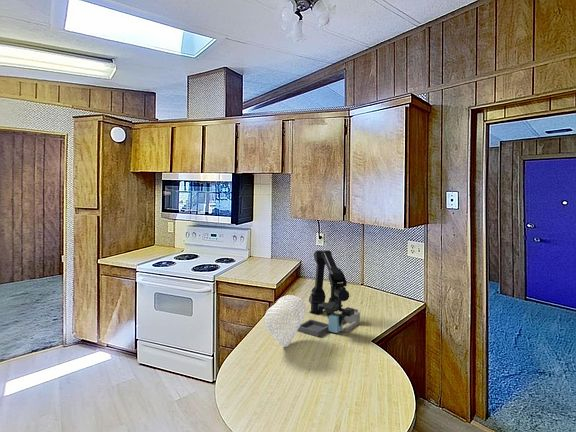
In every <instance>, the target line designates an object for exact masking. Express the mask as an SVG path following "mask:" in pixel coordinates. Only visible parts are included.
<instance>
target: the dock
mask: <svg viewBox="0 0 576 432" xmlns="http://www.w3.org/2000/svg"><path fill="white" fill-rule="evenodd" d="M353 309H354V314H353V315H351V316H345V318H344V320H343V323H347V324H348V325H346V326H344V327H343V328H342V331H343V332H344V333H347V332H348V331H349V330H351V329H353V328H354V327H356V326H357V325H359V324H360V321H361V312H359V309H357V308H353Z"/></svg>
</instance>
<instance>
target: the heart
mask: <svg viewBox="0 0 576 432" xmlns="http://www.w3.org/2000/svg"><path fill="white" fill-rule="evenodd" d="M306 310H307V309H306V303H305V302H304V301H303V300H302V299H301V298H300V297H298V296H297V295H294V294H293V295H292V294H287V295H284V296H281V297H280V298H278V299H277V301H276V302H275V304H273V305H271V306H270V307H269V308H268V309H267V310H266V312H265V313H264V323H265V327H266V328H267V330H268V332H269V333H270V334H271V335H272V336H273V337H274V338H275V340H276V341H277V342H278V343H279V344H280V345H281V346H282V347H284V348H285V347H288V346H290V344H291V343H292V341H293V339H294V337H295V336H296V334H297V333H298V329H299V327H300V325H301V324H302V323H303V321H304V319H305V317H306Z"/></svg>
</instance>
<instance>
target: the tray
mask: <svg viewBox="0 0 576 432" xmlns="http://www.w3.org/2000/svg"><path fill="white" fill-rule="evenodd" d="M328 328H329V323H327V322H326V323H325V322H322V321H318V320H314V319H310V318H309V319H308V320H306V321H304V322H302V323H301V325H300V327H299V329H298V331H297V333H298V332H299V333H302V334H305V335H309V336H313V337H314V338H315V337H316V338H319V337H321V336H323V335H325V334H326V333H327V332H329V331H328Z"/></svg>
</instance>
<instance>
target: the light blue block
mask: <svg viewBox="0 0 576 432" xmlns="http://www.w3.org/2000/svg"><path fill="white" fill-rule="evenodd" d="M339 314H340V313H337V312H334V313H333V314H331V315H329V319H328V324H329V328H328V332H330V333H335V334H338V333H340V332H341V331H343V328H344V327H343V322H342V325H341V326H339V318H340V317H339Z"/></svg>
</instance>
